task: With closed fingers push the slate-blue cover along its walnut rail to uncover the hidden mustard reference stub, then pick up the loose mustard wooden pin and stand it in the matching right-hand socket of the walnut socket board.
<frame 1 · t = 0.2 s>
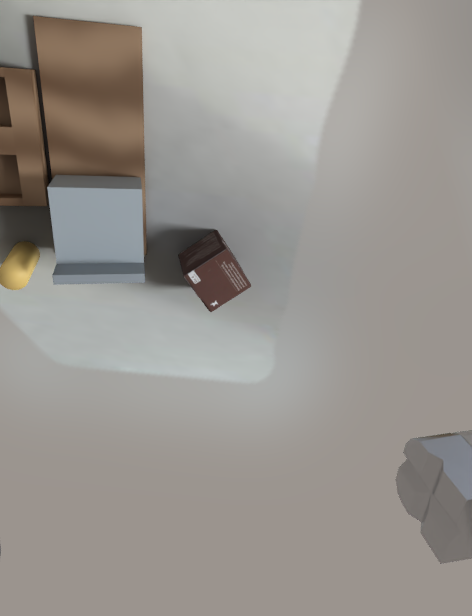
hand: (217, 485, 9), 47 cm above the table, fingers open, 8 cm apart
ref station: (102, 212, 52), on the table
pin: (26, 253, 52), on the table
cover: (99, 227, 47), point 6 cm above the table, slide at 0.0 cm
box: (208, 258, 58), on the table
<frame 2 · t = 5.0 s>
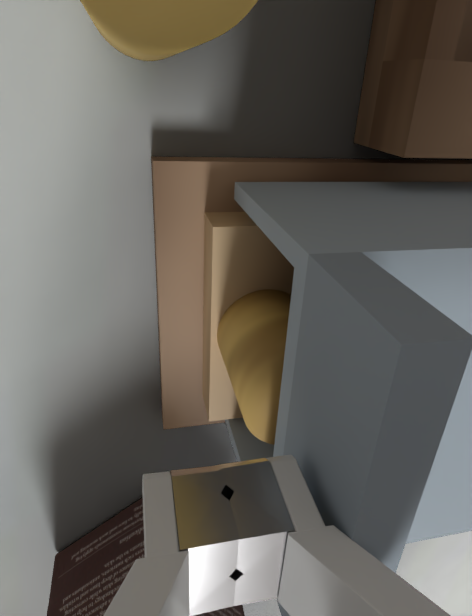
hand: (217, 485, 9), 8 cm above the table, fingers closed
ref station: (292, 297, 17), on the table
cover: (424, 384, 12), point 6 cm above the table, slide at 1.8 cm, touching gripper
box: (146, 541, 21), on the table
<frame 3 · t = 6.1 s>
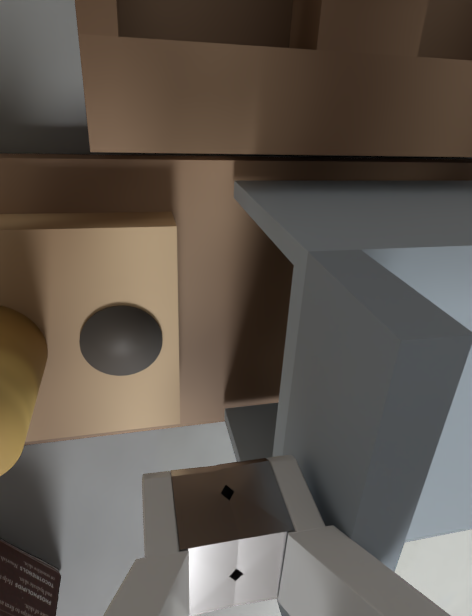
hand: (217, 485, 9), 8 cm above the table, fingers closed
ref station: (67, 309, 15), on the table
cover: (423, 383, 12), point 6 cm above the table, slide at 9.8 cm, touching gripper
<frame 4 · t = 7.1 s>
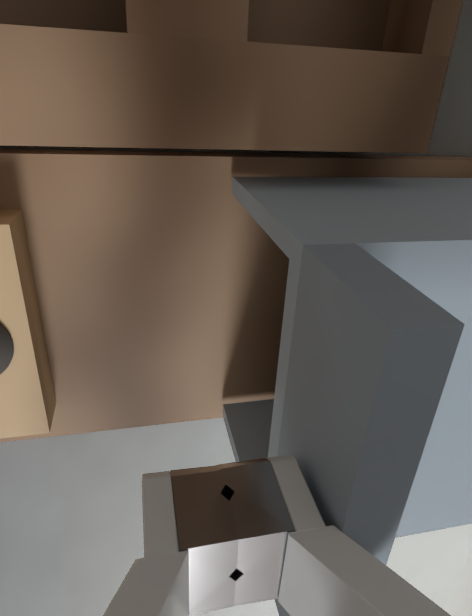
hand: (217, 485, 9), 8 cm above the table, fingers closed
cover: (419, 378, 12), point 6 cm above the table, slide at 14.0 cm, touching gripper
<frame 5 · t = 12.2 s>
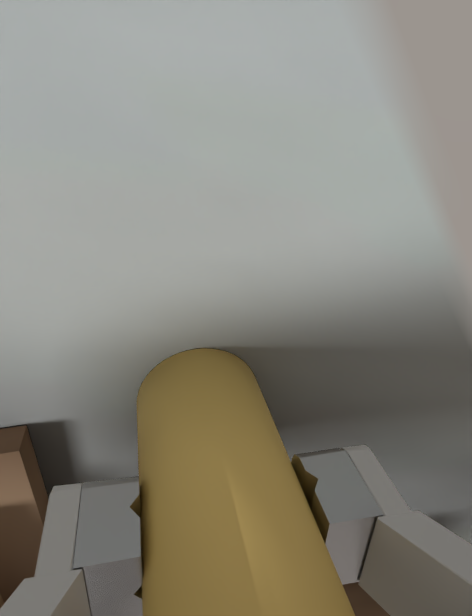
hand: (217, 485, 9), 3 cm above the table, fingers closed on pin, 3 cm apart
pin: (198, 399, 11), on the table, touching gripper
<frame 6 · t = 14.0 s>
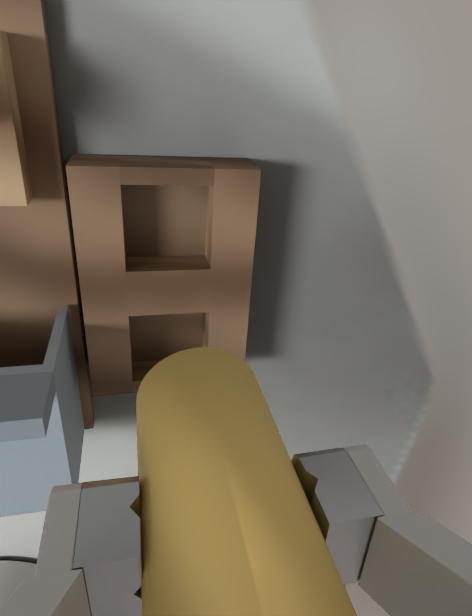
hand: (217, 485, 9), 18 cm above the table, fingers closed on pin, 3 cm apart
pin: (198, 398, 11), point 16 cm above the table, touching gripper
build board: (165, 270, 26), on the table
when the fingers open (4 cm above the table, at t = 16.3 s): pin stays where it is, resting on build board.
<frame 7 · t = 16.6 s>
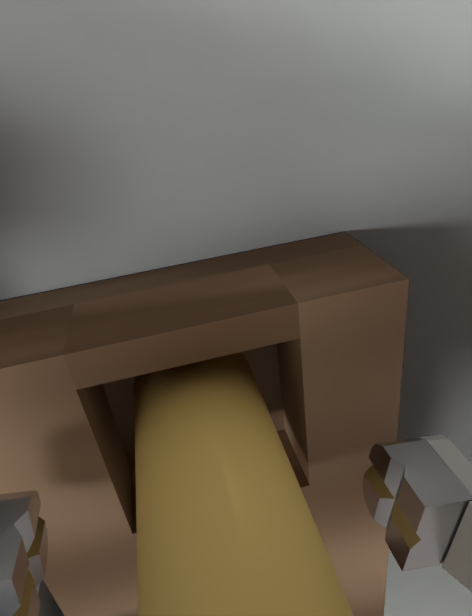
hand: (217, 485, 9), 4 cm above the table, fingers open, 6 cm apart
pin: (194, 385, 11), point 1 cm above the table, touching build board
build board: (211, 454, 14), on the table
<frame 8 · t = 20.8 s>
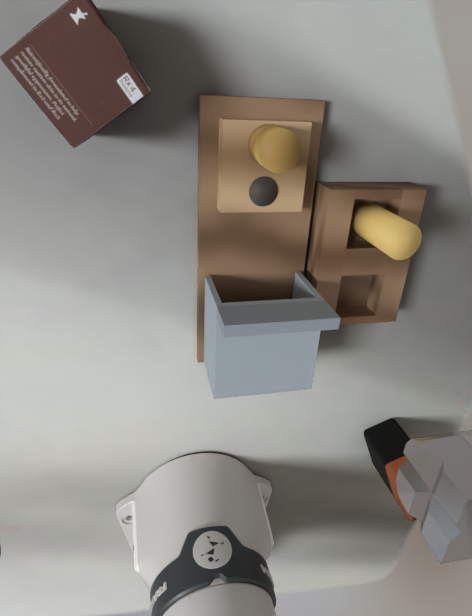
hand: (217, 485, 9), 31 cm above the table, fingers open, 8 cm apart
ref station: (257, 163, 37), on the table
pin: (362, 216, 40), point 1 cm above the table, touching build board
cover: (263, 341, 38), point 6 cm above the table, slide at 14.0 cm
box: (87, 74, 32), on the table
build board: (351, 250, 43), on the table
battery: (381, 439, 57), on the table
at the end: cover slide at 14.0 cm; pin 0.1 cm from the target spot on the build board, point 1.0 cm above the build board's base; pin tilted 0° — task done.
